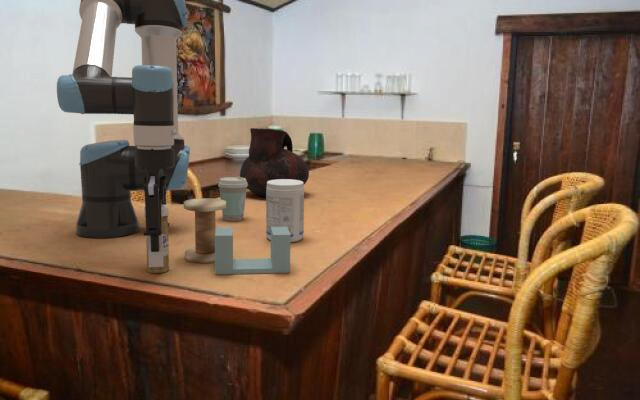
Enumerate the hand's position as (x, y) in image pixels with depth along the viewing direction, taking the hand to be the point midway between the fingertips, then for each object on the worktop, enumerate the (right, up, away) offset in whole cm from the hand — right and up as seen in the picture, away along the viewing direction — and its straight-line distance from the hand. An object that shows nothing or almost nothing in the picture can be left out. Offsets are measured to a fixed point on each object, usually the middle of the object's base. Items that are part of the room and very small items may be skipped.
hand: (158, 262), depth 108 cm
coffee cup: (+7, +7, +48) cm, 49 cm away
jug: (+16, +14, +90) cm, 92 cm away
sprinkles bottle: (0, -2, 0) cm, 2 cm away
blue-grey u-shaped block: (+19, -2, +3) cm, 19 cm away
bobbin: (+7, 0, +11) cm, 13 cm away
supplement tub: (+24, +3, +28) cm, 37 cm away
